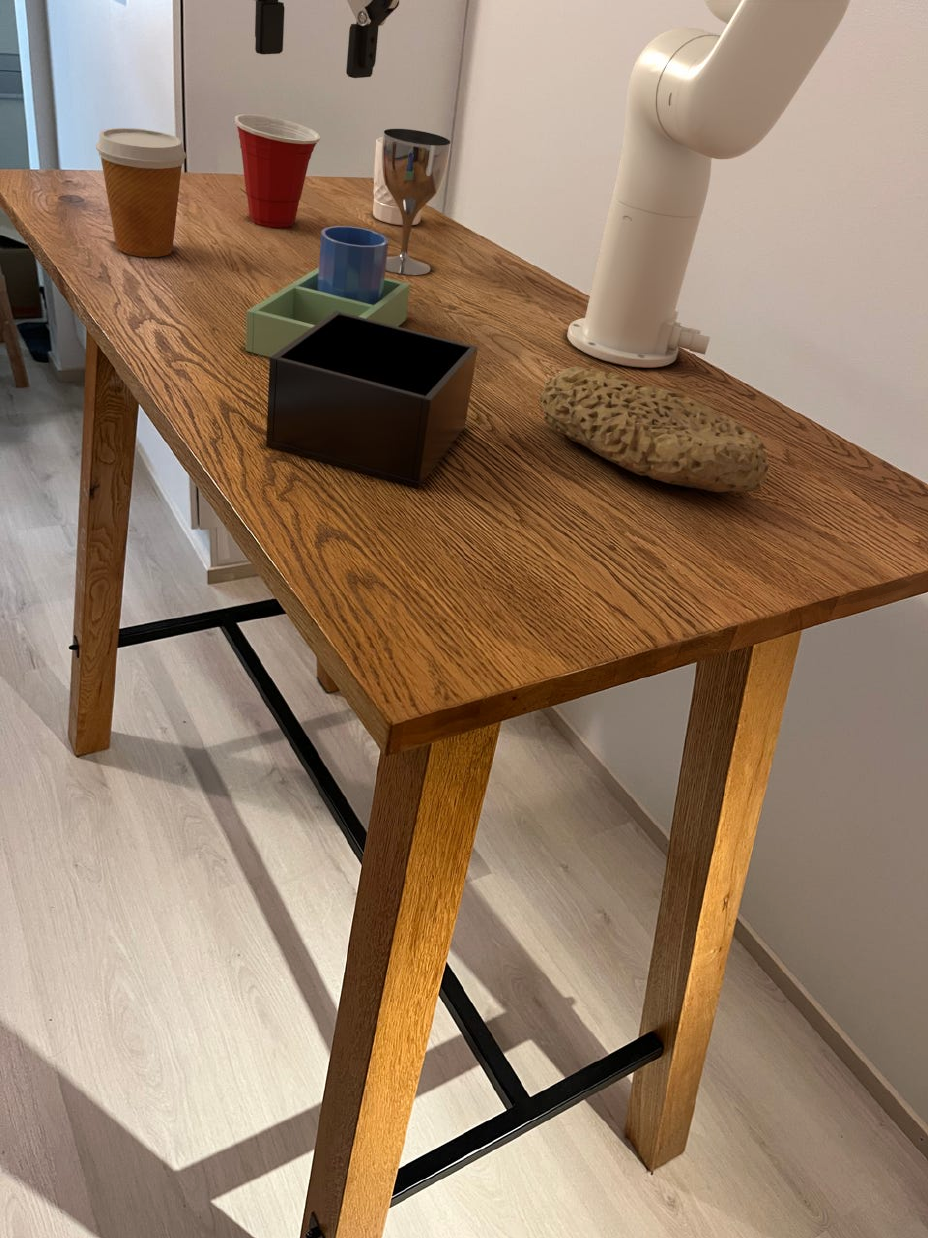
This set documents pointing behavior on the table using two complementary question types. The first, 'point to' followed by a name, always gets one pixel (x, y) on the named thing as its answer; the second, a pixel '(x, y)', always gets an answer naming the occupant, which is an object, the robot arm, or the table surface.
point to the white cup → (385, 194)
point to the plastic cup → (274, 166)
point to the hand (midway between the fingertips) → (313, 64)
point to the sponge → (654, 431)
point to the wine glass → (412, 182)
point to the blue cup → (352, 263)
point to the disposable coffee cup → (142, 188)
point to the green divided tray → (314, 312)
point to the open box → (369, 397)
